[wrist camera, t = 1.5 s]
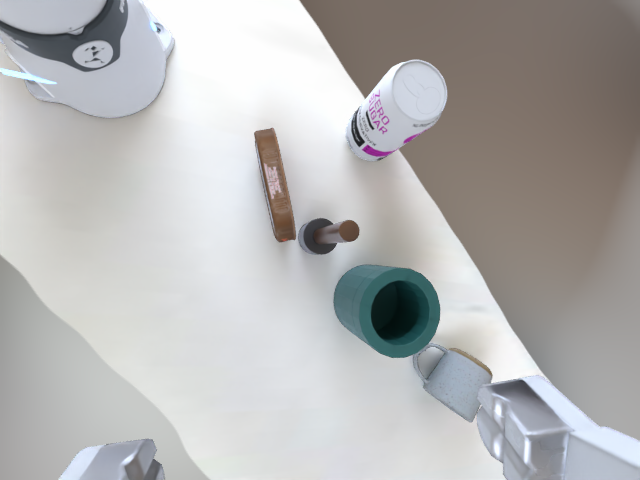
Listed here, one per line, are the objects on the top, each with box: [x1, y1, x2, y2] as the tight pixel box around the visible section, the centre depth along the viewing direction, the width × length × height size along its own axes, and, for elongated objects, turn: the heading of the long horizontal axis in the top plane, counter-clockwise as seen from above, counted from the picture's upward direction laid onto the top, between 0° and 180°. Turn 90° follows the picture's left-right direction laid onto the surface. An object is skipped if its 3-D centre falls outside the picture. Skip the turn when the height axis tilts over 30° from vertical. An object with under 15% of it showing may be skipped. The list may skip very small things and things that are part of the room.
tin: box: [254, 128, 296, 242], centre depth 42 cm, size 15×3×8 cm, turn 13°
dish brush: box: [298, 218, 359, 254], centre depth 40 cm, size 5×5×16 cm
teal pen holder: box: [334, 265, 440, 358], centre depth 44 cm, size 11×11×11 cm
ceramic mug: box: [413, 343, 492, 422], centre depth 48 cm, size 11×8×8 cm
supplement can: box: [346, 60, 447, 161], centre depth 43 cm, size 8×8×15 cm
